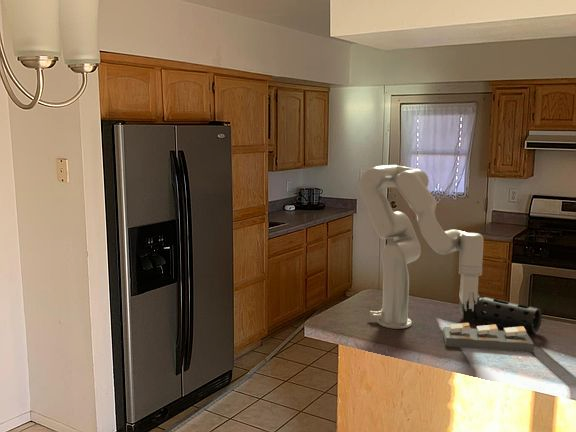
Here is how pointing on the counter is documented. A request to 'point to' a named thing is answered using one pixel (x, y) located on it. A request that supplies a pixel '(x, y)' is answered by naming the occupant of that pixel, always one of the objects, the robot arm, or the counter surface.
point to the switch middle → (487, 329)
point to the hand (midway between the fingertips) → (468, 321)
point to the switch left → (460, 327)
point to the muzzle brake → (506, 314)
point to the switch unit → (488, 340)
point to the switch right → (515, 331)
